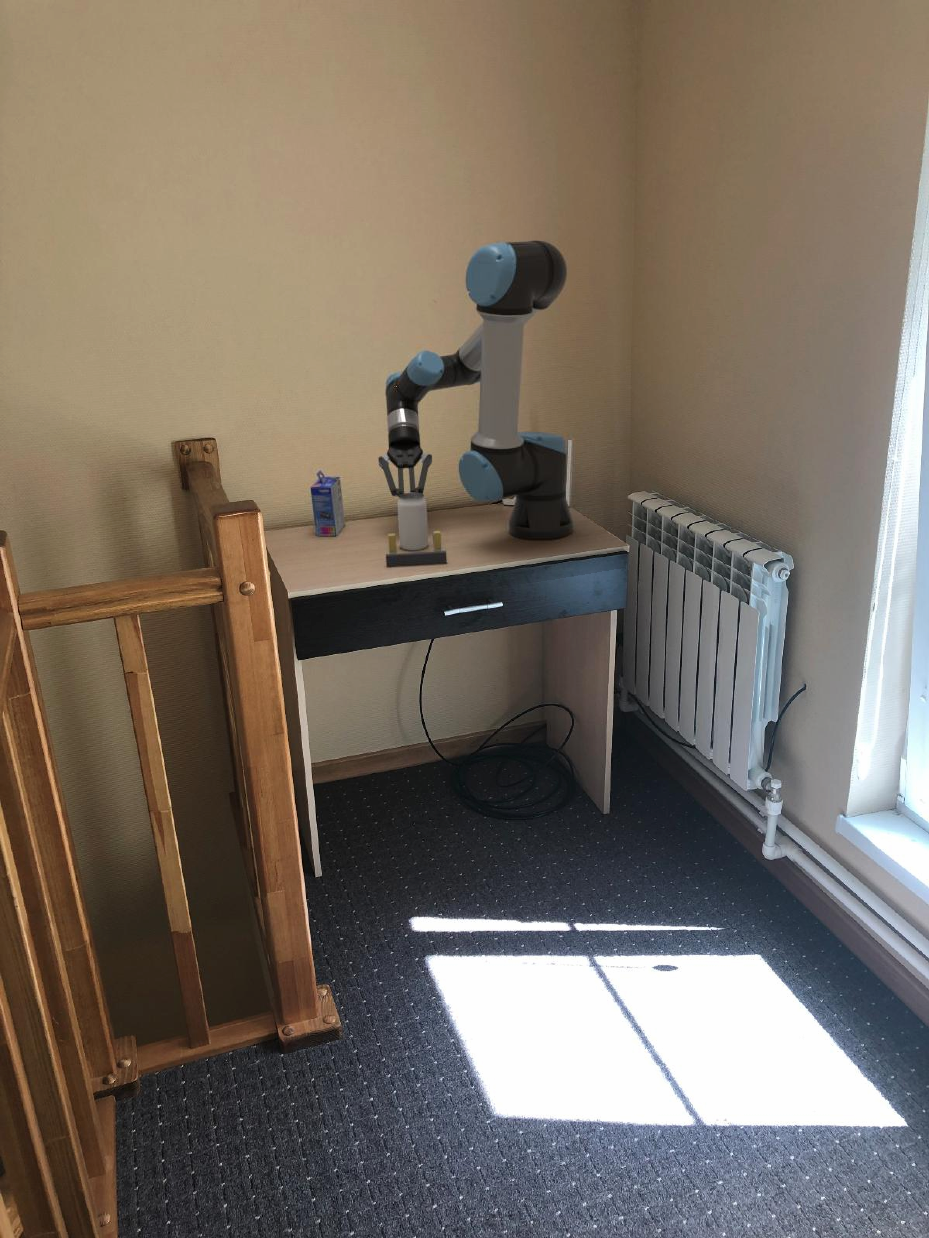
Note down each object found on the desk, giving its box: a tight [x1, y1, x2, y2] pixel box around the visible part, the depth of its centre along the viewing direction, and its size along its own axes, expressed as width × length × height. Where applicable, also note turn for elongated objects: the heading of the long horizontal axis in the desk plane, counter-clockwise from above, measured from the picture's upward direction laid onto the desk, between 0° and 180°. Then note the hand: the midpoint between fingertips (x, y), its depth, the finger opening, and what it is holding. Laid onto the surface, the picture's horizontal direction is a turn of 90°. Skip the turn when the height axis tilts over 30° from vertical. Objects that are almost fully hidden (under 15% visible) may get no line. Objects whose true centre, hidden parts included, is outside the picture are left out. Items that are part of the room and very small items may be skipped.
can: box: [397, 492, 429, 552], centre depth 231 cm, size 6×6×12 cm
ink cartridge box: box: [310, 470, 346, 537], centre depth 246 cm, size 10×6×14 cm, turn 174°
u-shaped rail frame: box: [385, 530, 448, 568], centre depth 229 cm, size 13×19×5 cm
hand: (408, 520), depth 235 cm, fingers closed
